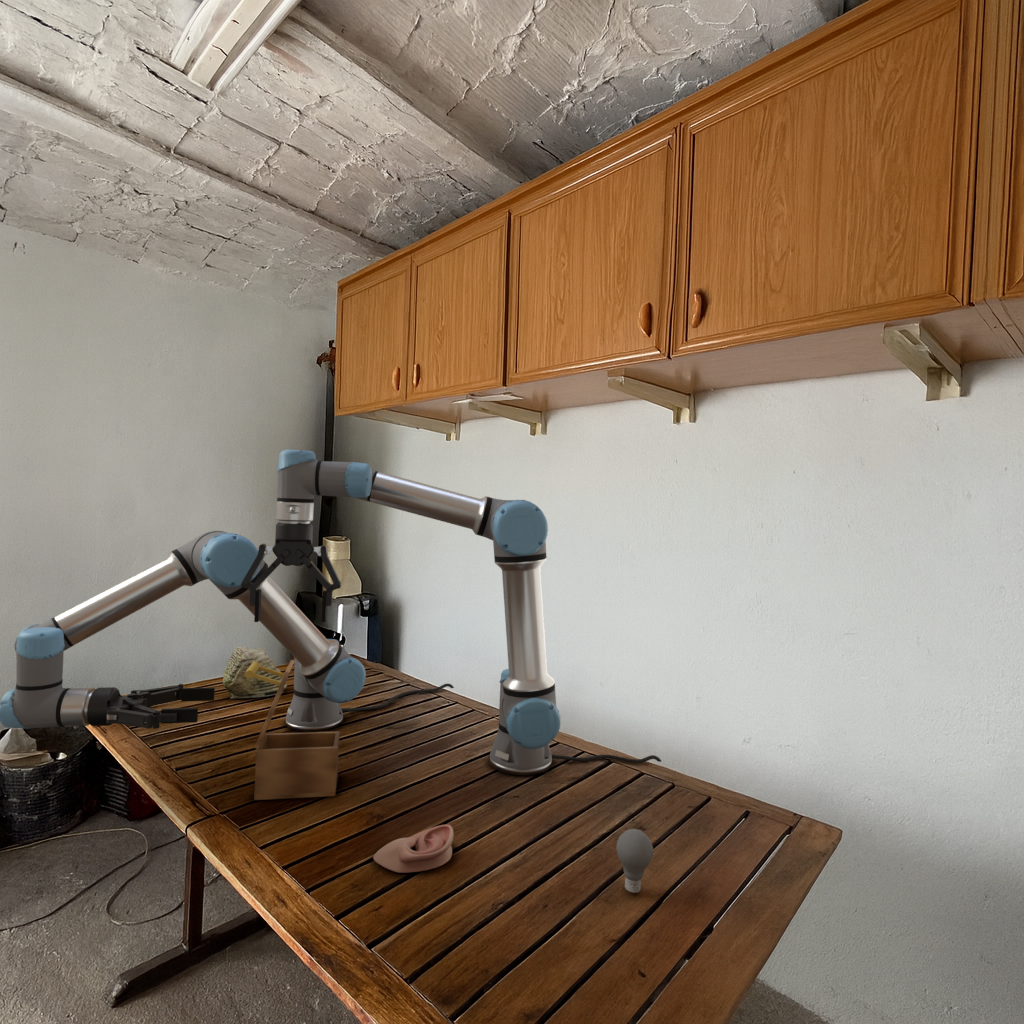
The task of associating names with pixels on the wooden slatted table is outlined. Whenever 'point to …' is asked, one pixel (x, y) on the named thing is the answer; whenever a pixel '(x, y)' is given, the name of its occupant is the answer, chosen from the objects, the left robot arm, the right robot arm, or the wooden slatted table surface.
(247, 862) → the wooden slatted table surface
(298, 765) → the chest
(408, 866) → the anatomical model
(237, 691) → the fossil
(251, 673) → the lid
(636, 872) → the light bulb
